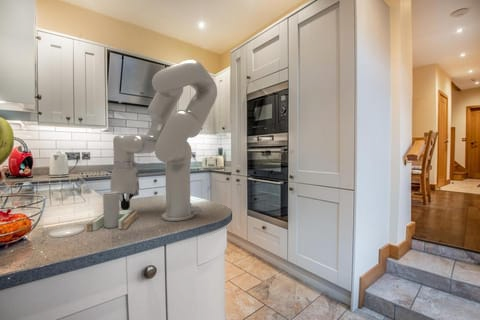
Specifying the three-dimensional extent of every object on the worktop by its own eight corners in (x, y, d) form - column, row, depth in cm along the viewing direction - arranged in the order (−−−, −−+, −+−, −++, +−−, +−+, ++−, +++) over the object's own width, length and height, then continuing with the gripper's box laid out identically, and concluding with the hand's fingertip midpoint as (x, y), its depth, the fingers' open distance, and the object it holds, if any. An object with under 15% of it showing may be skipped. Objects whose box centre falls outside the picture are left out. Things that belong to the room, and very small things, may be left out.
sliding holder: (133, 217, 91) (133, 209, 91) (121, 229, 77) (121, 220, 77) (109, 218, 90) (109, 210, 89) (92, 230, 76) (92, 221, 76)
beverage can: (108, 224, 83) (107, 191, 82) (122, 223, 83) (121, 191, 82) (101, 228, 78) (100, 193, 77) (116, 228, 78) (115, 193, 78)
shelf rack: (138, 216, 92) (138, 210, 92) (125, 229, 77) (125, 222, 77) (105, 218, 90) (105, 212, 90) (87, 231, 75) (86, 224, 75)
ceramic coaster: (89, 226, 80) (89, 224, 80) (75, 236, 71) (75, 234, 71) (60, 228, 78) (60, 226, 78) (42, 238, 69) (42, 235, 69)
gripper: (145, 165, 99) (146, 206, 99) (108, 165, 96) (109, 208, 97) (141, 166, 91) (142, 211, 92) (100, 166, 89) (102, 213, 90)
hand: (125, 209), depth 95 cm, fingers closed
